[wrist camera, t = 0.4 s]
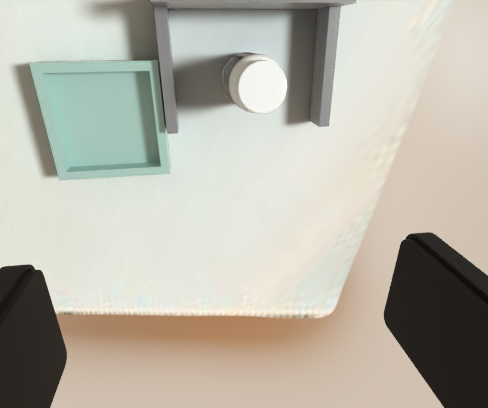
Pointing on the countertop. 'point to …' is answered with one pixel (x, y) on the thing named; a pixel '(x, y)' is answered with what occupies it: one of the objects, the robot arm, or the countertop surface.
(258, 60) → the pill bottle
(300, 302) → the countertop surface
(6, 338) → the robot arm
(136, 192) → the countertop surface
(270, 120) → the countertop surface
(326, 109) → the bay
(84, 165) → the tray
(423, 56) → the countertop surface
